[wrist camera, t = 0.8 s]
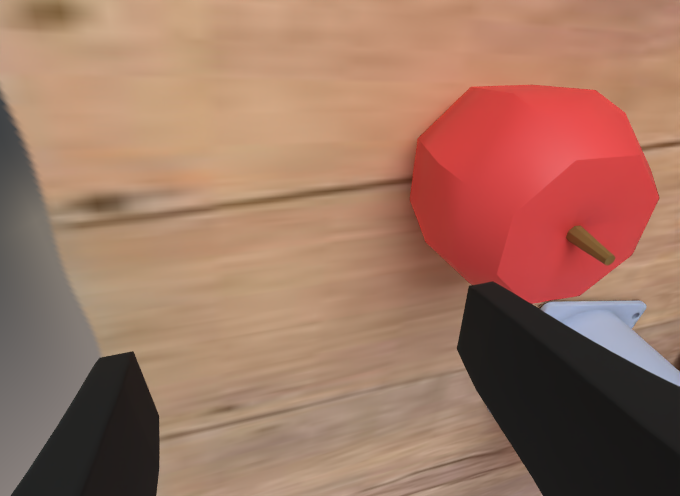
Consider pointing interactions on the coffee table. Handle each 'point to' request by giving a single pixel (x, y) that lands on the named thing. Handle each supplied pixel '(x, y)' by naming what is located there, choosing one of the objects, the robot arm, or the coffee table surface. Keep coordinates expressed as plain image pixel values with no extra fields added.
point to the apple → (532, 188)
